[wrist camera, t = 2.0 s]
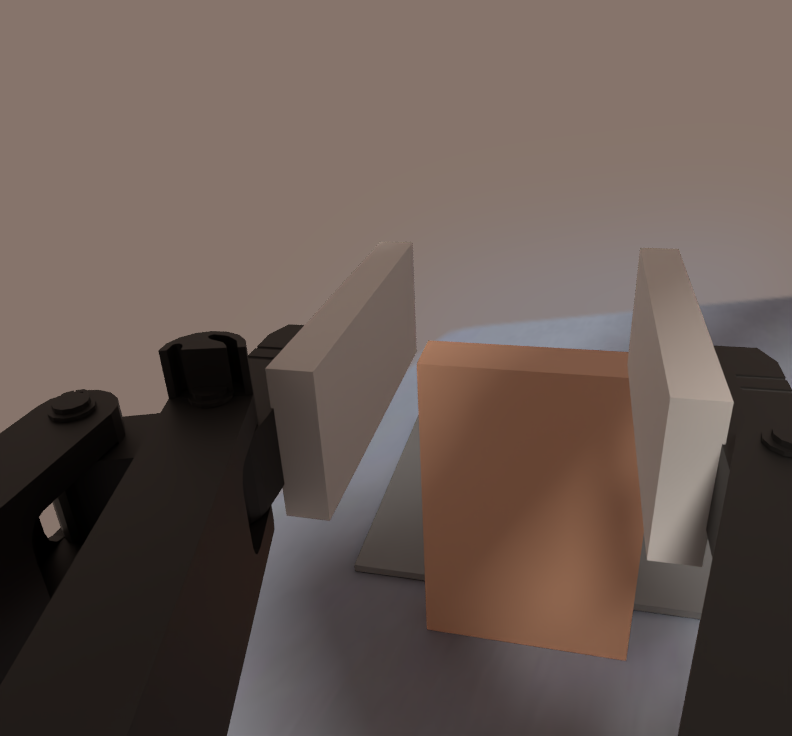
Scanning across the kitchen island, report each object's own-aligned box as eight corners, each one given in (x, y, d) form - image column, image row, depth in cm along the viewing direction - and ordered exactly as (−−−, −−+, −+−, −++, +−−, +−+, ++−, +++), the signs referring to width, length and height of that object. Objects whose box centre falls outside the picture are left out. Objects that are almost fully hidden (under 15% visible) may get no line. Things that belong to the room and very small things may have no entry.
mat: (717, 442, 46) (718, 437, 46) (771, 629, 32) (773, 623, 32) (419, 417, 51) (419, 412, 51) (354, 570, 37) (354, 564, 37)
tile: (623, 622, 33) (659, 353, 27) (625, 660, 31) (664, 380, 25) (436, 595, 35) (428, 340, 29) (426, 629, 33) (416, 363, 27)
